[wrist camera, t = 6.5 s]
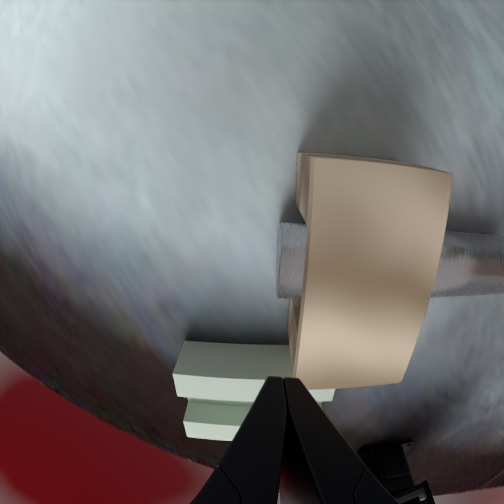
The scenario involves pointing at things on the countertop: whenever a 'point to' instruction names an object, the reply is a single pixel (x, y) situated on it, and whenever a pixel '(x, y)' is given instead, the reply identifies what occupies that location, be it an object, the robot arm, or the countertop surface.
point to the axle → (448, 272)
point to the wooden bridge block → (364, 267)
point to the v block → (227, 384)
